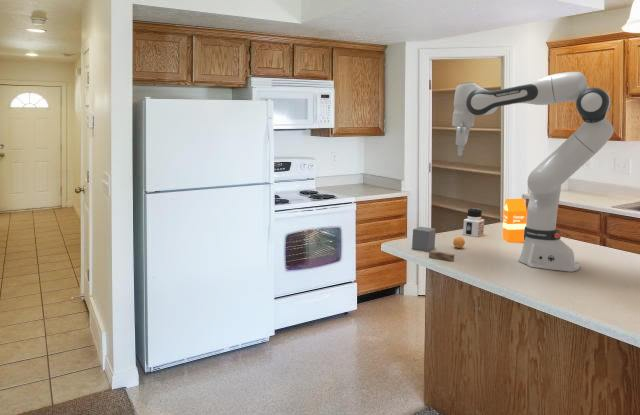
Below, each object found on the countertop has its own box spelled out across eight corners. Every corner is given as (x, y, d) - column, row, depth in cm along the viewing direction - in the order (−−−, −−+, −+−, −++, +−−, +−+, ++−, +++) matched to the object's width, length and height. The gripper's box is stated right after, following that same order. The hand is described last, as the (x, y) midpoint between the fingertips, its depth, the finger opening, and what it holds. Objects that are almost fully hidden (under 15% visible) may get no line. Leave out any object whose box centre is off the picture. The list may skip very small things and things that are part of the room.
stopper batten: (454, 260, 214) (454, 254, 213) (452, 261, 212) (452, 255, 212) (430, 256, 219) (431, 250, 219) (428, 257, 218) (429, 251, 217)
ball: (466, 247, 235) (466, 236, 234) (462, 249, 231) (462, 238, 230) (455, 246, 238) (455, 235, 237) (451, 248, 234) (451, 237, 233)
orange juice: (526, 241, 247) (527, 199, 245) (507, 242, 247) (508, 199, 245) (520, 238, 255) (521, 197, 252) (502, 239, 255) (502, 198, 253)
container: (477, 237, 257) (479, 210, 254) (462, 234, 261) (464, 209, 259) (483, 234, 263) (485, 208, 261) (468, 232, 267) (470, 207, 265)
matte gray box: (434, 248, 233) (435, 228, 232) (427, 251, 227) (428, 231, 226) (419, 245, 237) (420, 226, 236) (412, 248, 231) (412, 229, 230)
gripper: (469, 122, 211) (467, 157, 213) (471, 122, 230) (469, 153, 232) (453, 122, 213) (451, 156, 215) (457, 121, 232) (454, 153, 234)
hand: (460, 155), depth 224 cm, fingers open, 8 cm apart
